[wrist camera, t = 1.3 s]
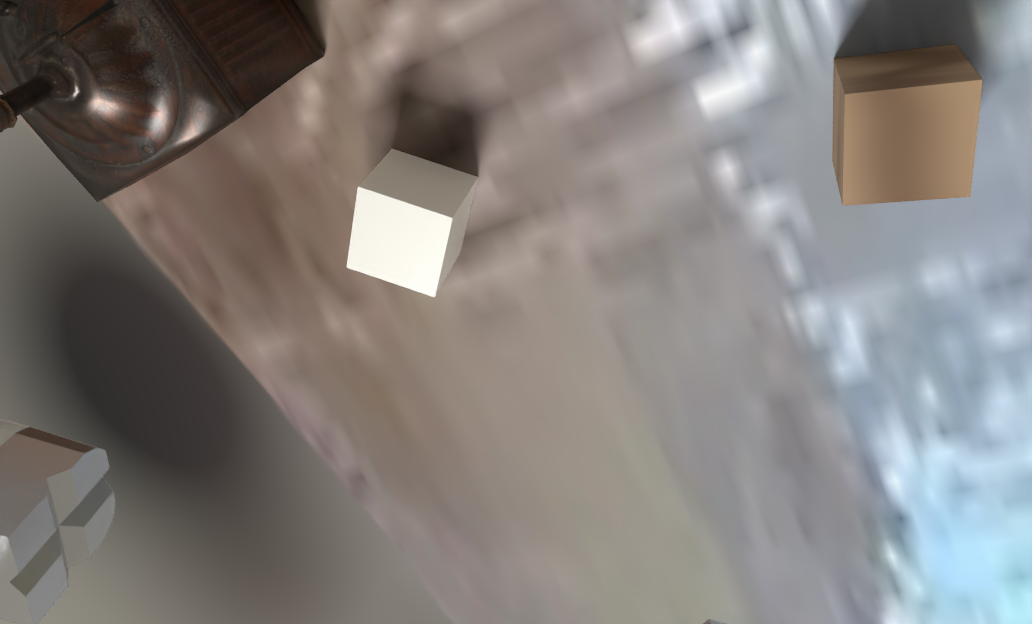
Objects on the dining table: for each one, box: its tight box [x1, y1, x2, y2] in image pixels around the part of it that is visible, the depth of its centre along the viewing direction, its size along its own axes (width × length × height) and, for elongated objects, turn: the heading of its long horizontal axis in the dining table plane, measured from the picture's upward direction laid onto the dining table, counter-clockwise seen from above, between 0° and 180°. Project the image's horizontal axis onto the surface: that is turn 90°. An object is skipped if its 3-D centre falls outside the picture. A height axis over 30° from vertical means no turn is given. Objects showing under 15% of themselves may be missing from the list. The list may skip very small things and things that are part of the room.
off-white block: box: [347, 149, 478, 297], centre depth 44 cm, size 5×5×5 cm
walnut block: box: [833, 44, 983, 206], centre depth 36 cm, size 5×5×5 cm
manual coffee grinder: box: [0, 0, 325, 202], centre depth 37 cm, size 16×11×18 cm
